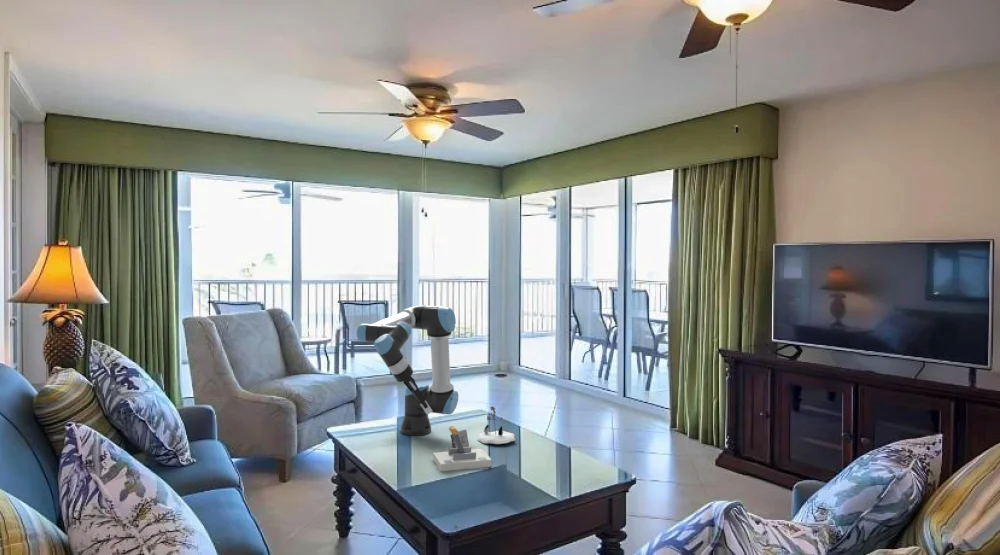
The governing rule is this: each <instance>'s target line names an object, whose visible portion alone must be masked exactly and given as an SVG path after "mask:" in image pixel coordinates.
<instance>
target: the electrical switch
mask: <svg viewBox="0 0 1000 555" xmlns="http://www.w3.org/2000/svg"><path fill="white" fill-rule="evenodd" d="M457 431H458V436H459V438H460V441H461V444H462V446H463V447H470V444H469V443H470V442H469V437H468V431H467V429H462V430H457ZM450 440H451V444H452V445H451V446H452V448H457V446H456V443H455V441H454V438H453V435H452V433H451V434H450Z"/></svg>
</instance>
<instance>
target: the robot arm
mask: <svg viewBox="0 0 1000 555" xmlns="http://www.w3.org/2000/svg"><path fill="white" fill-rule="evenodd" d="M456 321H457V320H456V314H455V312H454V310H453V309H452V308H451V307H449V306H442V305H425V304H419V305H415V306H411V307H407V308H404V309H402V310H400V311H399V312H398V313H397V314H395V315H394V314H393V315H391V316H389V317H386V318H384V319H381V320H379V321H376V322H373V323H360V324H359V325H358V326H357V328H356V337H357V340H358V341H359V342H364V343H373V347H374V348H375V350H376V352H377V354H378V355H379V356H380V357H381V360H382V361H383V362H384V364H385V365H386V367H387V368H388V370H389V371H390V373H391V374H392V375H393V377H394V379H395V380H396V381H397V382H398V383H403V385H404V386H405V387H406V388H405V390H404V391H405V393H404V415H403V416H404V417H403V418H402V419H403V420H402V422H401V425H400V430H399V431H400V432H401V434H403V435H406V436H407V435H408V436H423V435H427V434H429V433H431V431H432V425H431V422H430V418H429V414H439V415H440V414H441V415H452V414H453V413H454V412H455V410H456V409H457V406H458V403H459V392H458V391H457V390H455V389H454V388H455V387H454V385H453V383H451V369H450V368H451V367H450V365H451V364H450V344H449V343H450V342H449V337H450V336H451V335H452V333H453V331H455V328H456ZM412 329H414V330H425V331H426V335H427V337H428V338H430V352H431V354H430V355H431V373H432V374H431V376H432V377H431V378H432V379H431V380H432V384H431V385H429V383H416V381H415V378H414V377H412V376H413V374H414V371H413V370H414V369H413V368H412V366H411V364H409V362H408V361H407V360H406V359H407V357H406V356H404V355H403V353H402V351H401V349H402V348H403V346H404V345H405V343H406V342H407V341H408V340H409V338H410V336H411V334H412Z"/></svg>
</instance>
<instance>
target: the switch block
mask: <svg viewBox="0 0 1000 555" xmlns="http://www.w3.org/2000/svg"><path fill="white" fill-rule="evenodd" d="M463 449H464V451H465V453H459V452H458V448H453V447H452V448H451V447H450V448H448V449H447V450H448V451H438V452H432V460H433V462H434V464H435V465H436V468H438V469H439V471H440V472H448V471H460V470H470V469H479V468H480V469H482V468H490V467H492V464H493V463H492V461H493V460H492V459H491V457H490V456H489V454H487V453H486V452H485V451H484V450H483V449H482V448H477V449H476V448H475V449H474V448H473V449H472V446H469V447H463Z"/></svg>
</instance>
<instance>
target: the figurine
mask: <svg viewBox="0 0 1000 555" xmlns="http://www.w3.org/2000/svg"><path fill="white" fill-rule="evenodd" d="M489 408H490V411H489V412H490V415H486V420H487V421H492V420H493V422H494V425H496V421H500V420H502V419H504V418H503V417H500V418H498V419H497V418H495V416H497V415H496V414H497V413H496V411H495V410H496V407H494V406H490V407H489ZM491 411H493V412H491ZM491 417H493V418H491ZM477 441H479V442H480V443H482V444H492V445H493V444H494V445H501V444H508V443H511V442H515V441H516V438H515V433H512V432H508V431H505V430H503V426H500V427H499V428H498V430H497V429H496V427H494V431H490V425H489V424H486V426H485V428H484V430H483V432H481V433H479V434H478V435H477Z"/></svg>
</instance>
